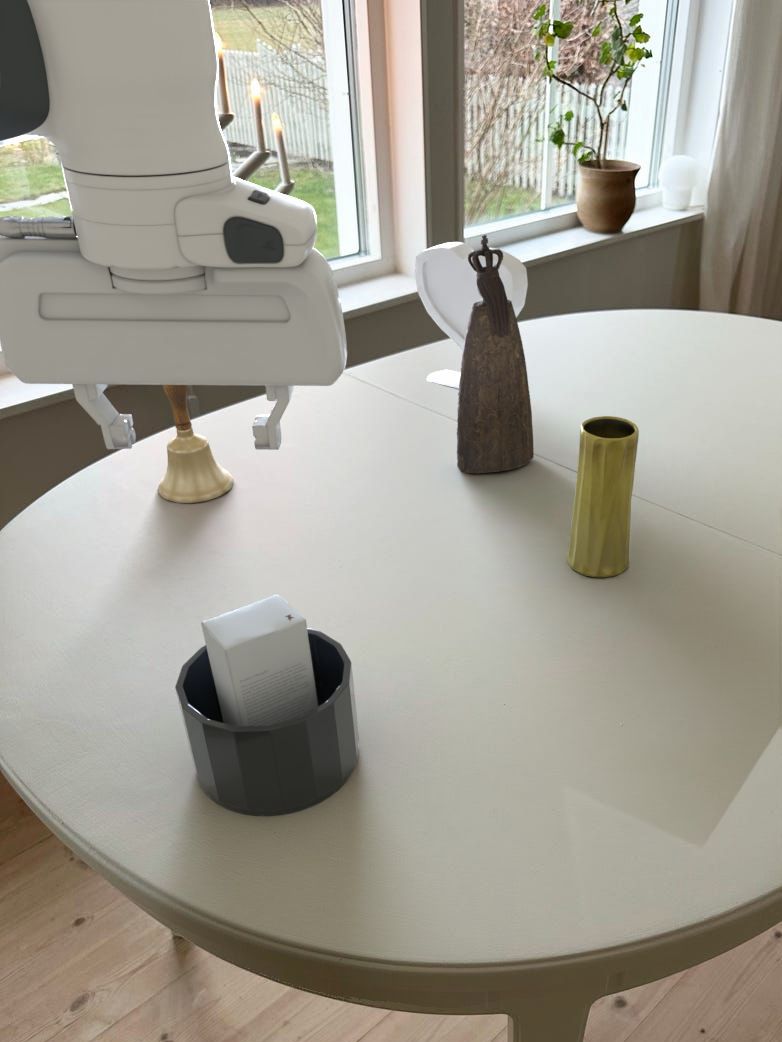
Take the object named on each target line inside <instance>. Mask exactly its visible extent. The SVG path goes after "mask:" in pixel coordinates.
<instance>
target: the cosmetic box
mask: <svg viewBox="0 0 782 1042" xmlns="http://www.w3.org/2000/svg"><path fill="white" fill-rule="evenodd" d="M307 628H308V625H307V620H306V618H305V617H303V616H302V615H301V614H300V613H299V612H298V610H297V611H296V609H295V608H294V607H293V606H291V605H290V603H288V602H287V601H286V600H285V598H283V597H282V596H281V595H280V594H279V593H276V594H273V595H270V596H268V597H266V598H263V599H261V600H258V601H255V602H253V603H249V604H247V605H244V606H241V607H239V608H236V609H233V610H231V611H228V612H225V613H222V614H220V615H217V616H214V617H212V618H211V617H210V618H209V619H206V620H203V621H201V630H202V633H203V638H204V642H205V645H206V647H207V652H208V656H209V660H210V665H211V669H212V673H213V678H214V682H215V687H216V691H217V696H218V700H219V705H220V709H221V713H222V718H223V722H224V723H225V724H229V725H232V726H270V725H274V724H277V723H281V722H284V721H288V720H291V719H295V718H299V717H302V716H304V715H305V714H307V713H309V712H310V711H312V710H314V709H315V708H317V707H318V701H317V694H316V687H315V680H314V673H313V666H312V659H311V653H310V646H309V640H308V632H307Z"/></svg>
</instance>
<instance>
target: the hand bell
mask: <svg viewBox="0 0 782 1042" xmlns="http://www.w3.org/2000/svg"><path fill="white" fill-rule="evenodd" d="M162 388H163V390H164V392H165V395H166V397H167V398H168V400H169V403H170V405H171V409H172V413H173V420H174V425H175V426H174V427H175V429H176V436H175V437H173V438H171V439H170V440H169V441H168V443H167V444H166V452H167V453H166V454H167V467H166V471H165V474H164V476H163V477H162V478H161V480H159V481H160V482H159V484H158V487H157V492H158V495H159V496H160V497H161V498H163V499H164V500H166V501H169V502H173V503H179V504H193V503H196V504H197V503H202V502H207V501H210V500H214V499H216V498H219V497H220V496H223V495H224V494H226V493H227V492H229V491H230V490H231V489H232V487H233V486H234V482H235V481H234V477H233V476H232V475H231V473H230V472H229V471H228V470H226V469H225V468H223V467H222V466H221V465H220V464H219V463H218V462H217V460H216V458H215V456H214V453H213V451H212V448H211V446H210V443H209V440H208V438H206V436H203V435H201V434H197V433H194V430H193V427H192V426H193V423H192V421H191V418H190V414H189V413H190V412H189V409H188V403H187V402H188V401H187V399H188V385H162Z"/></svg>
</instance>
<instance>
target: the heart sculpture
mask: <svg viewBox="0 0 782 1042" xmlns="http://www.w3.org/2000/svg"><path fill="white" fill-rule="evenodd" d="M489 249H492V250H493V249H494V250H495V249H497V248H496V247H489ZM500 250H501V251H502V252H503V260H502V263H501V265H500V268H499V269H498V271H499V276H500V278H501V280H502V282H503V285H504V288H505V292H506V296H507V300H511V301H512V305H513V309H514V312H515V316H516V319H517V318H518V316H519V315H520V313H521V311H522V310H523V308H524V307H525V304H526V299H527V293H528V286H529V281H528V271H527V268H526V266H525V265H524V263H523V262H522V261H521V260H520V259H519V258H518V257H515V256H514V255H512V254H511V253H510V252H507V251H505V250H502V249H500ZM473 251H475V249H474V248H473V247H472V246H470V245H469V244H468V243H465V242H461V241H452V242H451V241H450V242H449V241H448V242H444V243H442V244H437V245H435V246H432V247H429V248H427V249H424V250H421V251H420V252H419V253H418V254H417V255H416V256H415V262H414V263H415V265H414V278H415V284H416V289H417V294H418V296H419V298H420V300H421V303H422V304H423V307H424V309H425V311H426V312H427V314H428V315H429V317H431V320H432V321H434V322H435V324H436V325H437V326H438V327H439V329H440V330H441V331H442V332H443V333H444V334H446V336H448V337H449V338H450V339H451V340H452V342H454V343H455V345H457V346H458V347H459V348H460V349H461V357H462V356H463V350H464V344H465V338H466V333H467V327H468V323H469V318H470V314H471V310H472V306H473V304H474V303H476V302H479V301H482V300H483V298H482V297H481V296H480V294H479V293H478V290H477V286H476V279H477V277H476V274H477V272H476V271H474V269H473V268H472V267H471V266H470V264H469V262H468V254H470V253H471V252H473ZM478 257H479V261H480V263H481V265H482V267H486V260H485V257H484V256H478ZM471 261H472V257H471ZM472 263H473V262H472ZM497 263H498V256H497V255H496V254H493V266H495V265H496V264H497ZM460 374H461V372H458V371H454V370H451V369H443V370H439V371H434V372H432V373H430V374H429V375H428V376H427V378H426V381H427V382H431V383H434V384H438V385H442V386H446V387H451V388H455V389H458V390H459V383H460Z"/></svg>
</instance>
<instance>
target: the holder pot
mask: <svg viewBox="0 0 782 1042" xmlns="http://www.w3.org/2000/svg"><path fill="white" fill-rule="evenodd" d="M307 632H308V640H309V646H310V653H311V659H312V666H313V673H314V680H315V687H316V694H317V701H318V707H317V708H315V709H314V710H312V711H310V712H309V713H307V714H305V715H304V716H302V717H299V718H295V719H291V720H288V721H284V722H281V723H277V724H274V725H270V726H232V725H229V724H225V723H224V722H223V718H222V713H221V709H220V705H219V700H218V696H217V691H216V687H215V682H214V678H213V673H212V669H211V665H210V660H209V656H208V652H207V647H206V644H205V645H202V646H201V647H200V648H199V649H197V651H196V652H195V653H194V654H193V655H192V656H191V657H190V658H189V659H188V660H187V661H186V662H185V663H184V664H183V665H182V666H181V669H180V672H179V676H178V678H177V680H176V684H175V687H174V688H175V692H176V697H177V701H178V704H179V705H178V706H179V710H180V713H181V717H182V721H183V726H184V730H185V735H186V738H187V744H188V747H189V751H190V755H191V760H192V764H193V766H194V770H195V774H196V777H197V781H198V783H199V786H200V788H201V789H202V790H203V792H204V794H205V795H206V796H207V797H208V798H209V799H210V800H211V801H213V802H214V803H215V804H217V805H219V806H220V807H222V808H224V809H227V810H229V811H232V812H235V813H239V814H243V815H246V816H247V815H248V816H257V817H258V816H261V817H270V816H271V817H272V816H281V815H288V814H292V813H296V812H299V811H302V810H305V809H308V808H311V807H313V806H315V805H318V804H319V803H321V802H323V801H325V800H327V799H328V798H330V797H331V796H332V795H334V794H335V793H336V792H337V791H339V790H340V789H341V788H342V787H343V786H344V785H345V784H346V783H347V782H348V781H349V779H350V777H351V776H352V774H353V772H354V770H355V769H356V766H357V763H358V760H359V743H360V742H359V740H360V737H359V726H358V717H357V716H358V715H357V706H356V697H355V696H356V695H355V684H354V675H353V665H352V661H351V659H350V657H349V655H348V653H347V652H346V650H345V648H344V647H343V645H342V644H341V643H340V642H339V641H337V640H335V639H333V638H332V637H330V636H328V635H327V634H326V633H324V632H322V631H320V630H317V629H312V628H308V627H307Z"/></svg>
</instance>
